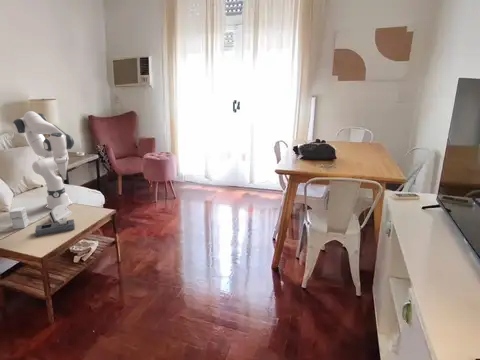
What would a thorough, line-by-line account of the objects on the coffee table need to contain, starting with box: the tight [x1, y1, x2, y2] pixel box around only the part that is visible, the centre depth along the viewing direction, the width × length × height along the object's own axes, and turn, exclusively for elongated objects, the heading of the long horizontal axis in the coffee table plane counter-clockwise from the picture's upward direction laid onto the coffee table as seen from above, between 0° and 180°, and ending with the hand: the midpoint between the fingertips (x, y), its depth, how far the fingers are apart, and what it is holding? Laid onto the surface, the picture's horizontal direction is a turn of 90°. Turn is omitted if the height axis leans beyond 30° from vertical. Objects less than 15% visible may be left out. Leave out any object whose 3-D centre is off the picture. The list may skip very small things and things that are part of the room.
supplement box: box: [9, 206, 30, 230], centre depth 230 cm, size 7×7×13 cm
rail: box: [34, 219, 76, 238], centre depth 223 cm, size 8×22×4 cm, turn 115°
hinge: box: [48, 204, 73, 223], centre depth 242 cm, size 17×5×10 cm, turn 172°
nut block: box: [59, 218, 67, 226], centre depth 224 cm, size 4×4×8 cm
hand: (64, 177), depth 230 cm, fingers open, 8 cm apart
